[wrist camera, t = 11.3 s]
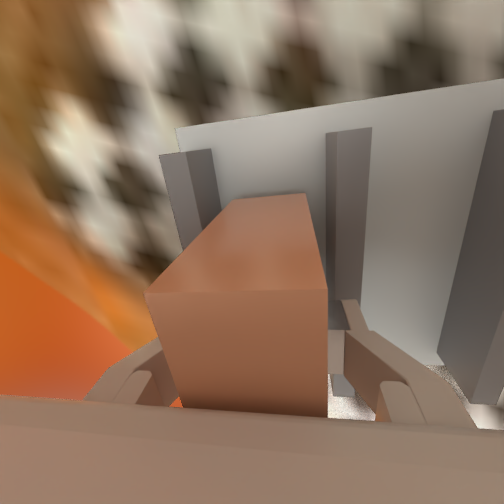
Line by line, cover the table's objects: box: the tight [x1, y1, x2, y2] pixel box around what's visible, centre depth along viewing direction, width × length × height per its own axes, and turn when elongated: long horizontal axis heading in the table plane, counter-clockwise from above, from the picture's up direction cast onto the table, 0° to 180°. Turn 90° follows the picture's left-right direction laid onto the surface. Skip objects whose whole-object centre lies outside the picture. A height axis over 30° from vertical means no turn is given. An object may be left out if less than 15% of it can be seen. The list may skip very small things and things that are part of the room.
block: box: [143, 193, 328, 418], centre depth 9 cm, size 3×8×7 cm, turn 7°
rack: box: [159, 78, 504, 405], centre depth 11 cm, size 20×14×4 cm
